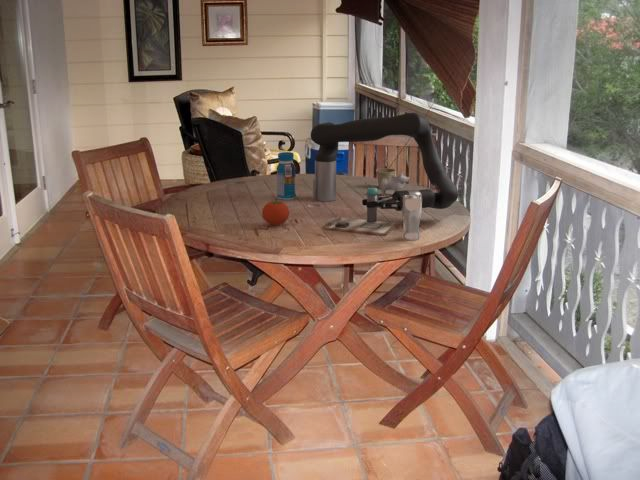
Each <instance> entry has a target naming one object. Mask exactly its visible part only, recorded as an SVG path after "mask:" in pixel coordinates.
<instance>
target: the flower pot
mask: <svg viewBox="0 0 640 480" xmlns="http://www.w3.org/2000/svg"><path fill="white" fill-rule="evenodd" d="M396 171H397V170H396V169H395V168H377V169H375V172H376V174H377V183H378V188H379V189H380V190H381V189H382V188H381V185H380V184H381V180H382V179H387V180H391V176H393V175H394V176H395V173H396Z"/></svg>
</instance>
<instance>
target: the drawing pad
mask: <svg viewBox="0 0 640 480" xmlns="http://www.w3.org/2000/svg"><path fill="white" fill-rule="evenodd" d="M398 225H399V222H394V221H391V222H390V221H385V220H384V221H382V220H377V222H375V223H369V222H367V219H362V218H350V217H341V216H339V217H334V218H333V219H331V220H330V221H328V222H327V225H325V226H324V227H322V230H325V231H335V232H343V233H351V234H354V233H355V234H365V235H371V236H372V235H373V236H383V237H386V236H387V235H388V234H390V233H391V232H392V231H393V230H394V229H395V228H396V227H397V226H398ZM390 231H391V232H390Z"/></svg>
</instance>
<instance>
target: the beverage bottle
mask: <svg viewBox="0 0 640 480" xmlns="http://www.w3.org/2000/svg"><path fill="white" fill-rule="evenodd" d="M277 160H278V162H279V163H278V164H277V166H276V171H277V172H276V175H275V176H276V180H277V181H276V183H277V184H276V188H277V189H276V190H277V199H279V200H281V199H282V201H287V200H288V201H290V200H294V199H295V198H296V196H297V195H296V177H297V176H296V171H295V170H296V166H295V164H294V162H293V161H294V152H288V151H282V152H279V153H278V154H277Z"/></svg>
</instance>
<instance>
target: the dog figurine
mask: <svg viewBox="0 0 640 480" xmlns="http://www.w3.org/2000/svg"><path fill="white" fill-rule="evenodd" d="M409 180H410V177H409V176H406V175H404V172H400V173H399V174H398V175H395V174H394V175H393V176H391V180H387V179H382V180H381V184H380V185H381V188H382V189H380V191H381V195H384V196H386V195H387V191H391V190H393V191H394V192H395V191H402V190H403V189H404V187H405V184H406V183H408V182H409Z"/></svg>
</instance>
